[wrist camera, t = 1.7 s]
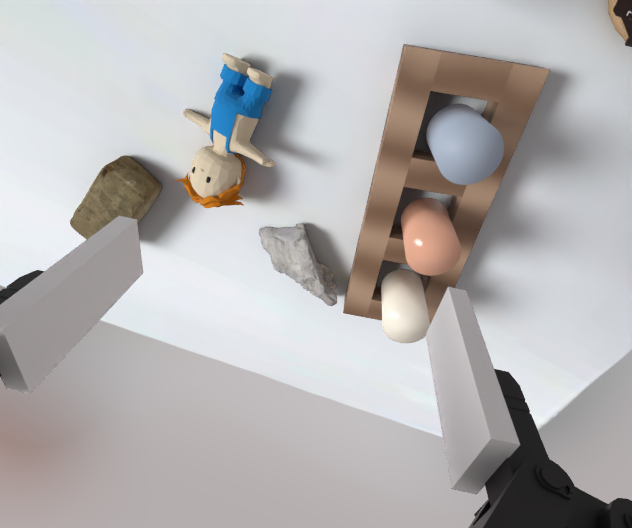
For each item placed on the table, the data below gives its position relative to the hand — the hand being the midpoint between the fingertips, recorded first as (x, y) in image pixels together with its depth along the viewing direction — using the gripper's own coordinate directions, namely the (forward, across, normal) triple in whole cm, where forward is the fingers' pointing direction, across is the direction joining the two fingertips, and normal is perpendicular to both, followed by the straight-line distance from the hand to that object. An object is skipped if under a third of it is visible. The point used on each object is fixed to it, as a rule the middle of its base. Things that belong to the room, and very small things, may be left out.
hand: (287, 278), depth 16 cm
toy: (+27, -11, -3) cm, 30 cm away
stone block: (+27, -24, -13) cm, 39 cm away
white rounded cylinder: (+24, +11, -15) cm, 30 cm away
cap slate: (+24, +11, +3) cm, 26 cm away
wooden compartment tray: (+27, +11, -6) cm, 30 cm away
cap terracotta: (+24, +11, -6) cm, 27 cm away
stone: (+28, -2, -16) cm, 32 cm away
